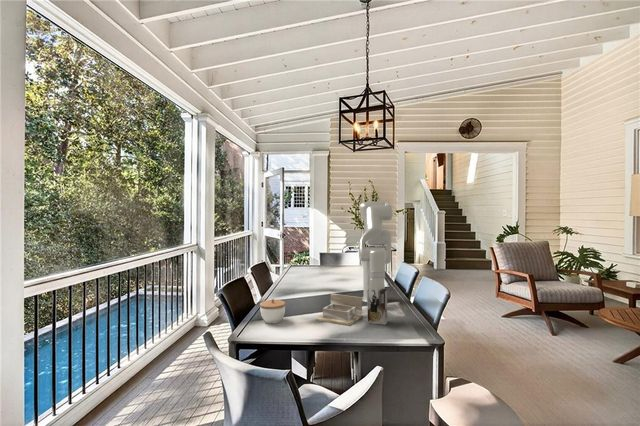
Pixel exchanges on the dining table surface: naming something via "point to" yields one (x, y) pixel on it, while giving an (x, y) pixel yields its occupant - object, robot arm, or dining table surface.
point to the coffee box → (378, 309)
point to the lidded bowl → (272, 310)
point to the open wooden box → (342, 310)
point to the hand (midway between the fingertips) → (377, 309)
